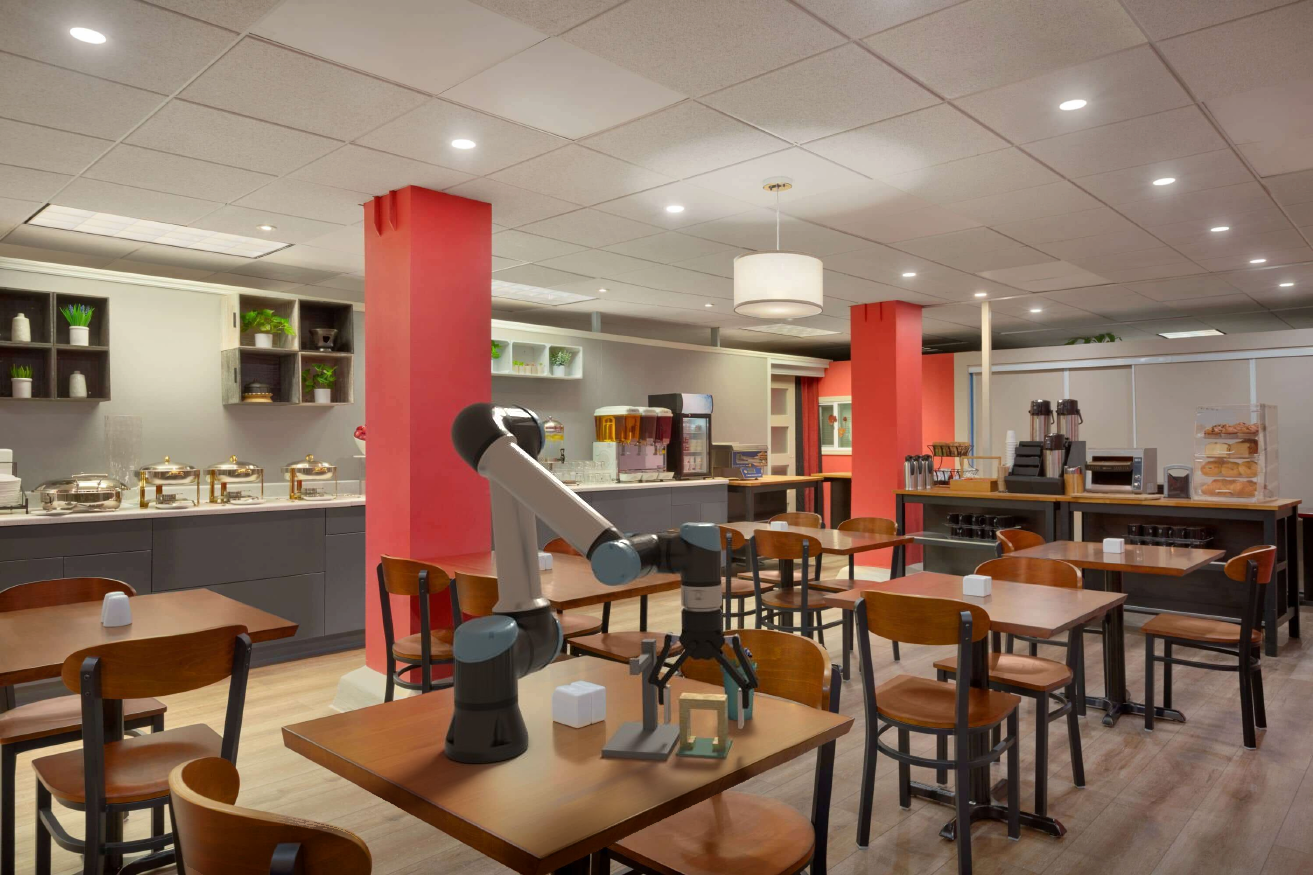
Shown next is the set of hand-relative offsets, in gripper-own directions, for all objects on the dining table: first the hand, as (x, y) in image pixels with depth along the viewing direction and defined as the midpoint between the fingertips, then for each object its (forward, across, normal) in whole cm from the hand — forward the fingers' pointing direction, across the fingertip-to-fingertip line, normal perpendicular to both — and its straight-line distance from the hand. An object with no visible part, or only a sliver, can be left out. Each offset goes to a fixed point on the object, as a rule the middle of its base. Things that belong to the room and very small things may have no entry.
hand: (704, 724), depth 151 cm
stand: (+4, -12, +1) cm, 12 cm away
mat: (+4, 0, 0) cm, 4 cm away
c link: (+4, 0, 0) cm, 4 cm away
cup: (+4, +4, +19) cm, 20 cm away
